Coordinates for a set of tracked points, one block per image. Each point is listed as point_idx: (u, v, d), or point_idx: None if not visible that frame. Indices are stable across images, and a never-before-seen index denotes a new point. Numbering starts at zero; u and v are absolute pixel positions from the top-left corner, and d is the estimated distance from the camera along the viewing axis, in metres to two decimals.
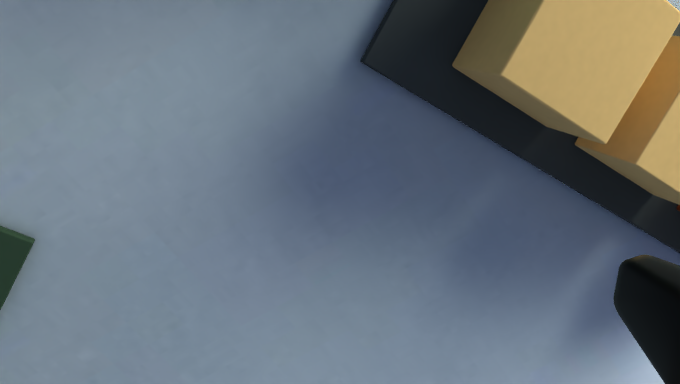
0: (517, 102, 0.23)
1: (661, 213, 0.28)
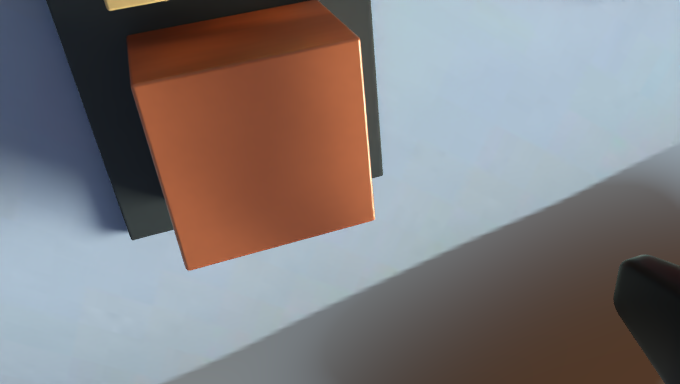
0: None
1: (99, 17, 0.15)
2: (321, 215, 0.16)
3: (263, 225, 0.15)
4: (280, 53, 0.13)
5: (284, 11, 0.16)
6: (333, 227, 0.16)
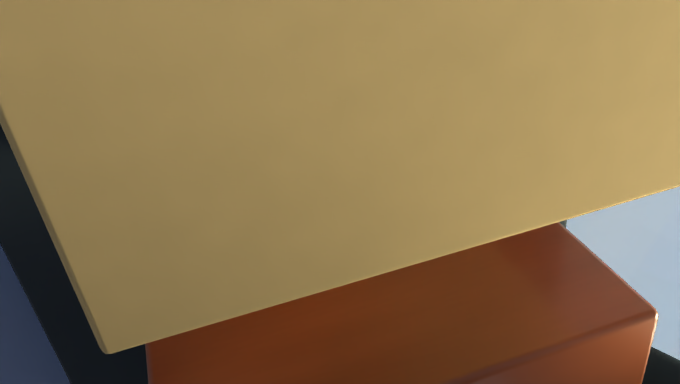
0: None
1: None
2: None
3: None
4: (495, 366, 0.06)
5: None
6: None
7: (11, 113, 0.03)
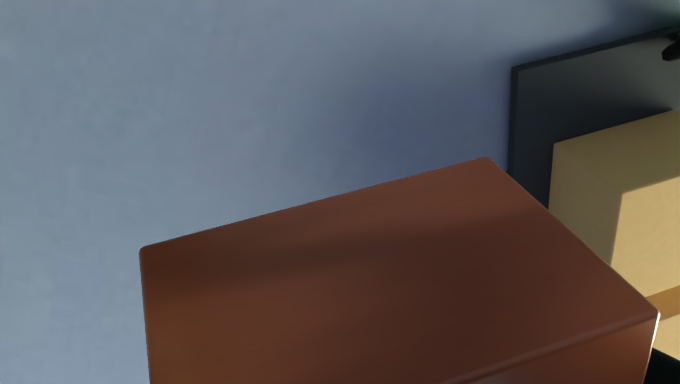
0: (566, 219, 0.22)
1: None
2: None
3: None
4: (498, 365, 0.06)
5: (442, 194, 0.08)
6: None
7: None
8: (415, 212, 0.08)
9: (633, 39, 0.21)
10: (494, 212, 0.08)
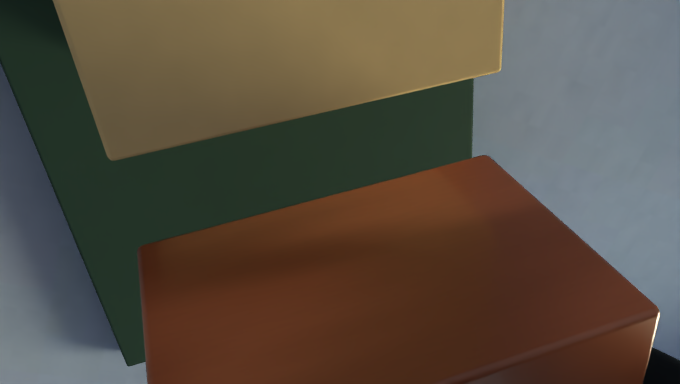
0: None
1: None
2: None
3: None
4: (497, 363, 0.06)
5: (441, 192, 0.08)
6: None
7: None
8: (414, 211, 0.08)
9: None
10: (493, 211, 0.08)
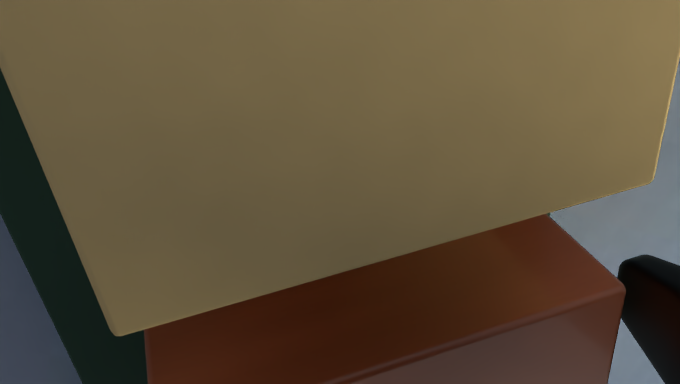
0: None
1: None
2: None
3: None
4: (471, 335, 0.06)
5: None
6: None
7: None
8: None
9: None
10: None
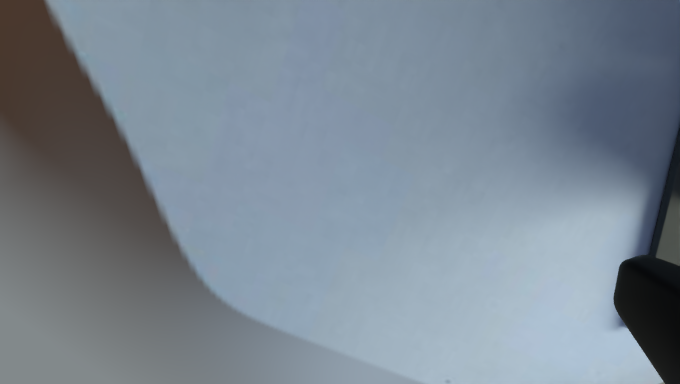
0: None
1: None
2: None
3: None
4: None
5: None
6: None
7: None
8: None
9: None
10: None
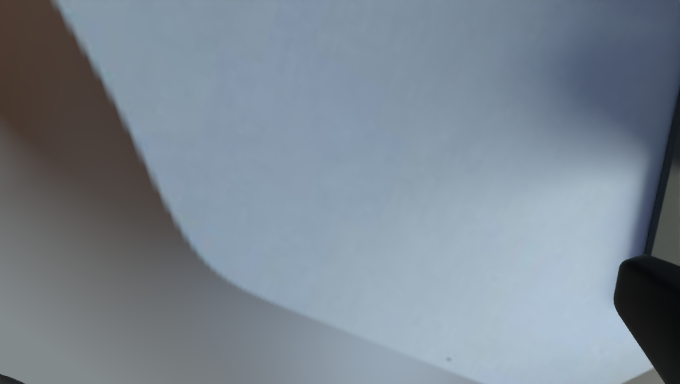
0: None
1: None
2: None
3: None
4: None
5: None
6: None
7: None
8: None
9: None
10: None
